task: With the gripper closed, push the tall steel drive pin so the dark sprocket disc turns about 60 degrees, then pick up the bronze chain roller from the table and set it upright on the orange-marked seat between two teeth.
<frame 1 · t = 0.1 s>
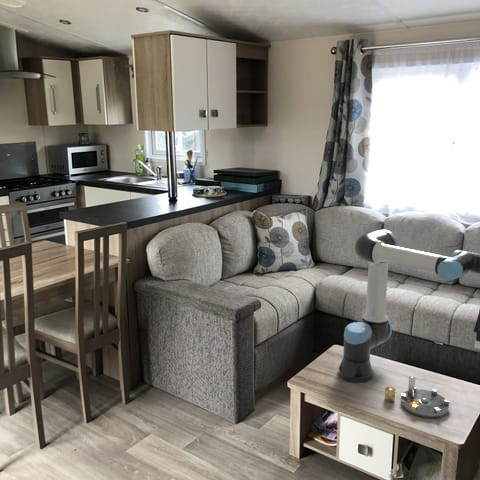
sprocket: (425, 394, 201), point 5 cm above the table, hinge at 0.0°
chain roller: (389, 400, 207), on the table
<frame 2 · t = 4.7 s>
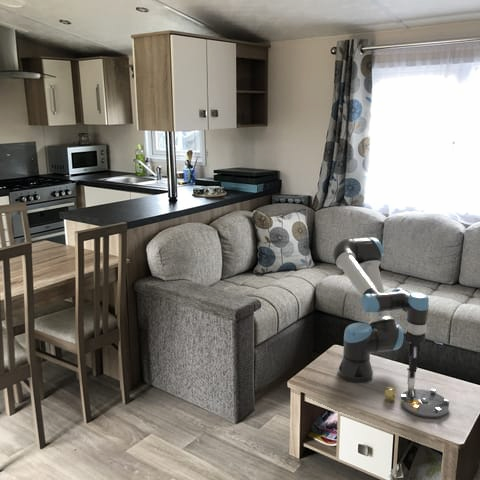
hand: (410, 383, 208), 6 cm above the table, fingers closed
sprocket: (425, 394, 201), point 5 cm above the table, hinge at 3.5°, touching gripper
everything else where it was.
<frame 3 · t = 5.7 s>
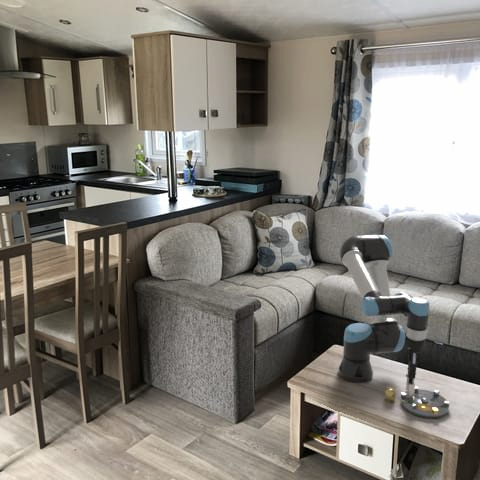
hand: (409, 390, 204), 6 cm above the table, fingers closed
sprocket: (425, 394, 201), point 5 cm above the table, hinge at 53.7°, touching gripper
everything else where it was.
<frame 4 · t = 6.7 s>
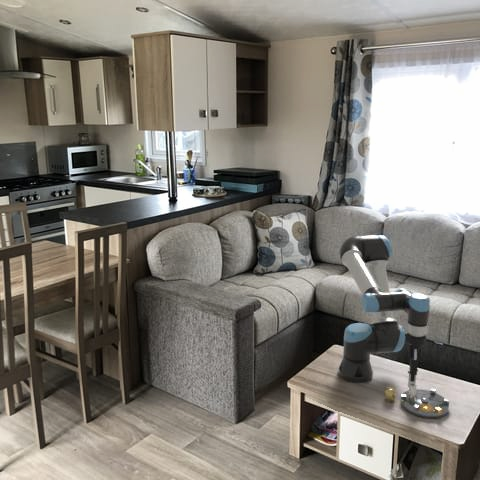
hand: (411, 386, 203), 7 cm above the table, fingers closed
sprocket: (425, 394, 201), point 5 cm above the table, hinge at 63.5°
everything else where it was.
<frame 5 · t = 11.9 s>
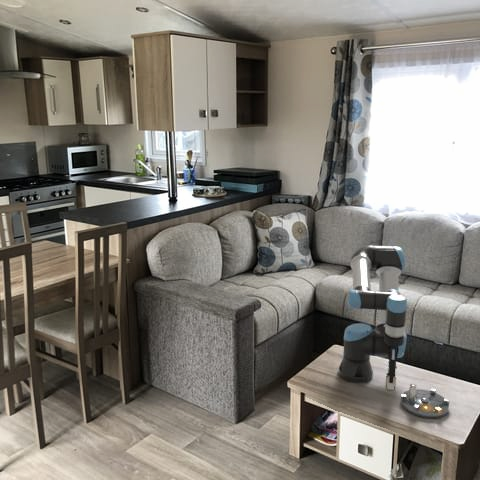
hand: (390, 385, 206), 6 cm above the table, fingers closed on chain roller, 4 cm apart
chain roller: (390, 388, 207), point 5 cm above the table, touching gripper
everything else where it was.
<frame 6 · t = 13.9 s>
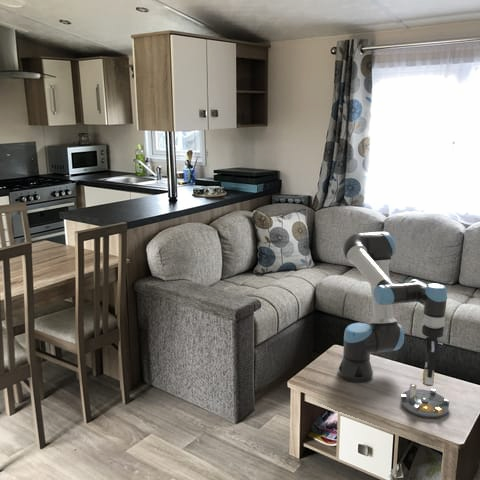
hand: (428, 380, 195), 14 cm above the table, fingers closed on chain roller, 4 cm apart
chain roller: (427, 383, 195), point 13 cm above the table, touching gripper
everything else where it was.
when the fingers open (4 cm above the table, at t = 15.8 s): chain roller stays where it is, resting on sprocket.
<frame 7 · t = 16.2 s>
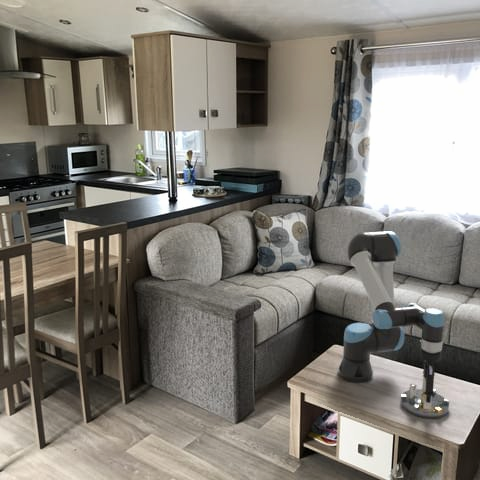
hand: (426, 400, 197), 5 cm above the table, fingers open, 10 cm apart
sprocket: (425, 394, 201), point 5 cm above the table, hinge at 63.5°, touching chain roller
chain roller: (425, 407, 198), point 2 cm above the table, touching sprocket
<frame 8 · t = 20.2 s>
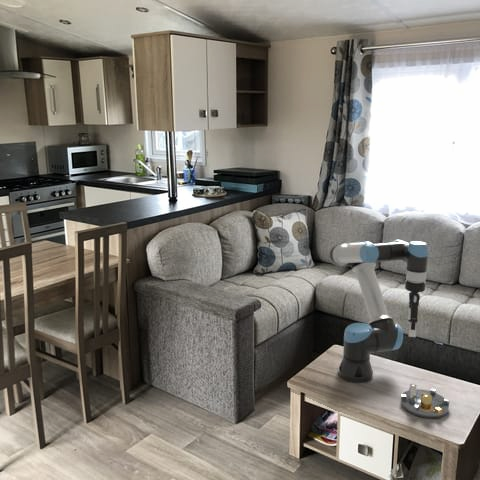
hand: (411, 329, 206), 29 cm above the table, fingers open, 13 cm apart
nothing on the table moved.
at the end: sprocket at +64° (first picture: +0°); chain roller 0.0 cm from the target spot on the sprocket, point 2.4 cm above the sprocket's base; chain roller tilted 0° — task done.
